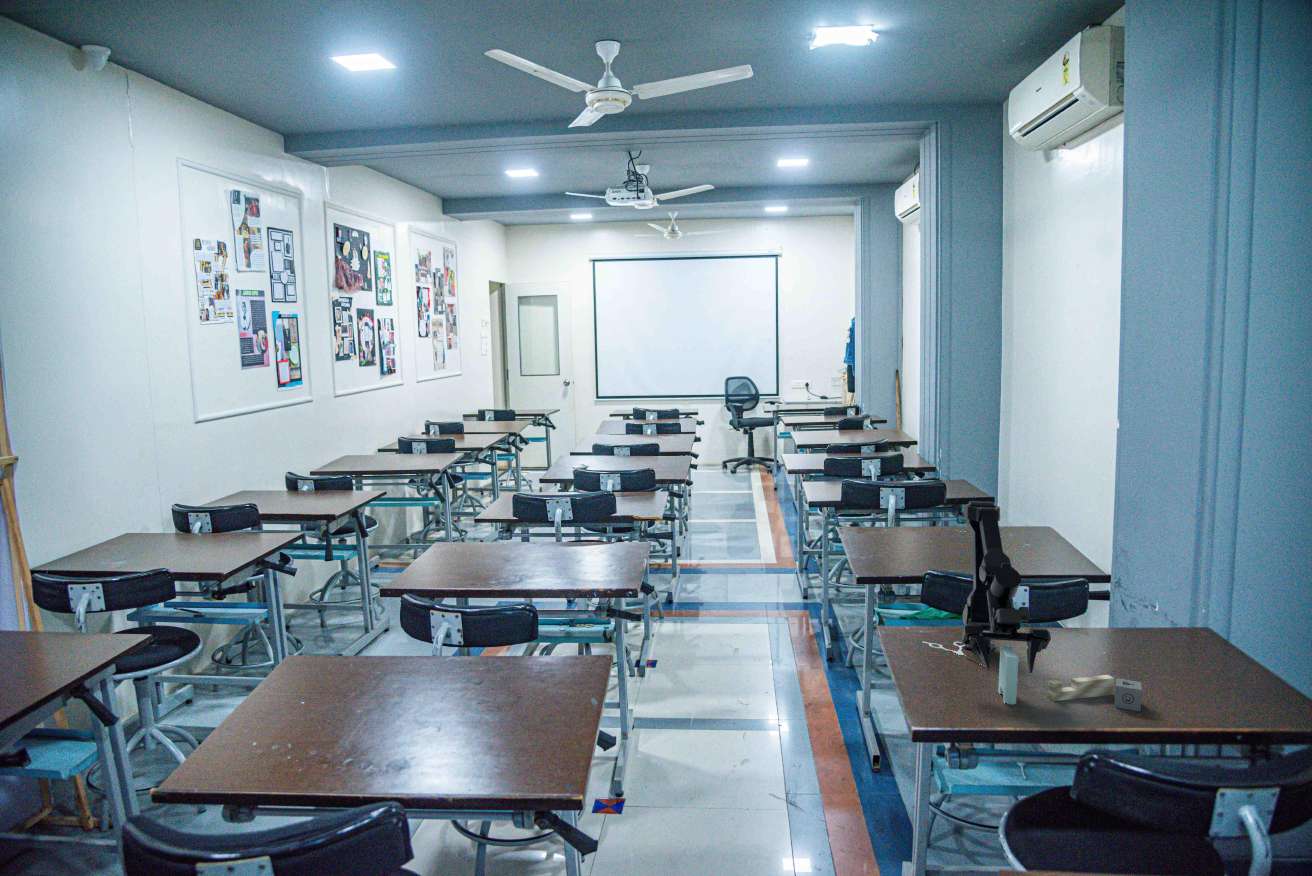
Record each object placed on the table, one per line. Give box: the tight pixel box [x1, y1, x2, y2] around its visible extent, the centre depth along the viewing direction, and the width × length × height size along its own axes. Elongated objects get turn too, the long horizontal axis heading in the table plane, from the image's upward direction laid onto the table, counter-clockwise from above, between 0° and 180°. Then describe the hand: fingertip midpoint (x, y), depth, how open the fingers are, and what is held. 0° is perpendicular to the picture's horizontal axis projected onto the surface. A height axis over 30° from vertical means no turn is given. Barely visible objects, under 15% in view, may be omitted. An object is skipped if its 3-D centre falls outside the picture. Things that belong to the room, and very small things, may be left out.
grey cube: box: [1114, 677, 1143, 712], centre depth 194 cm, size 5×5×5 cm
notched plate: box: [997, 645, 1019, 705], centre depth 197 cm, size 7×2×11 cm, turn 170°
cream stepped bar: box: [1047, 674, 1115, 702], centre depth 199 cm, size 16×2×4 cm, turn 104°
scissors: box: [922, 641, 983, 666], centre depth 225 cm, size 11×1×20 cm
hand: (1009, 671), depth 196 cm, fingers open, 9 cm apart
